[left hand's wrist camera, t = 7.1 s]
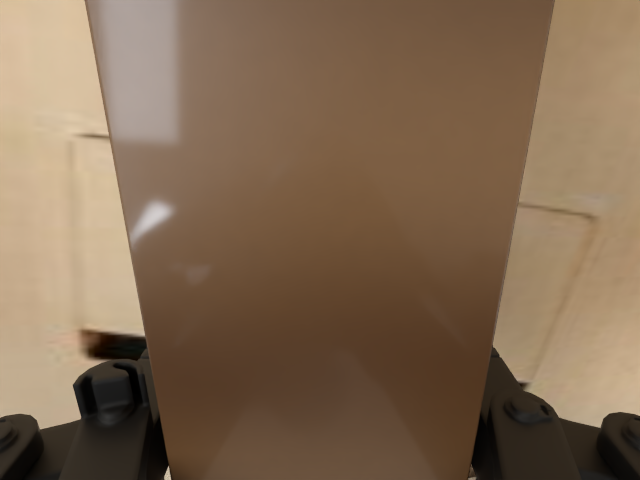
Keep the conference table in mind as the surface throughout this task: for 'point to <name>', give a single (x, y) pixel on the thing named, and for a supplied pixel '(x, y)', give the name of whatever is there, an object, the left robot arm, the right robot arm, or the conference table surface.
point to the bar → (319, 221)
